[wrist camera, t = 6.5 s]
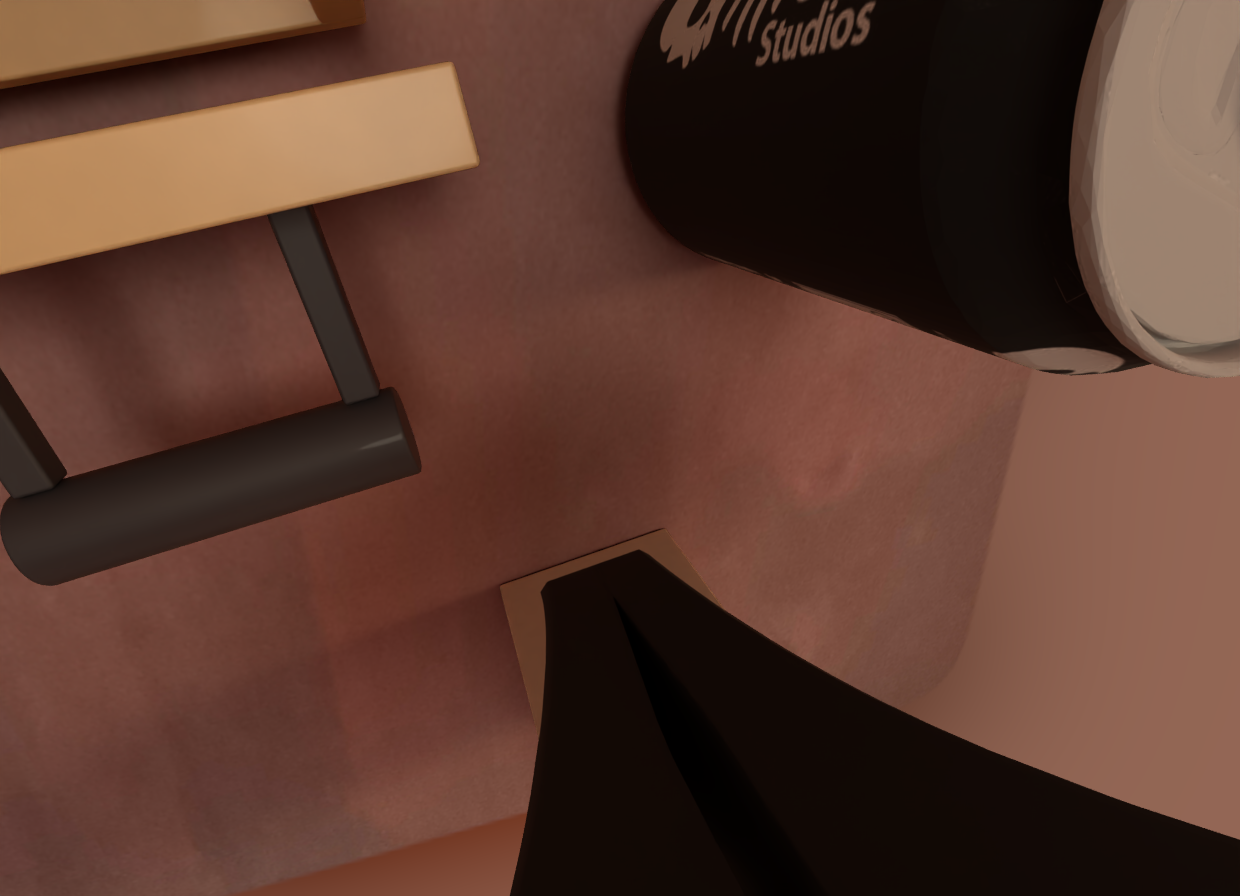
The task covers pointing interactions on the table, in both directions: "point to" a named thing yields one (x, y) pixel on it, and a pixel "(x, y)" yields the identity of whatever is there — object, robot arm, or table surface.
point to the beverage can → (963, 166)
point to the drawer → (193, 200)
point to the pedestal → (525, 592)
